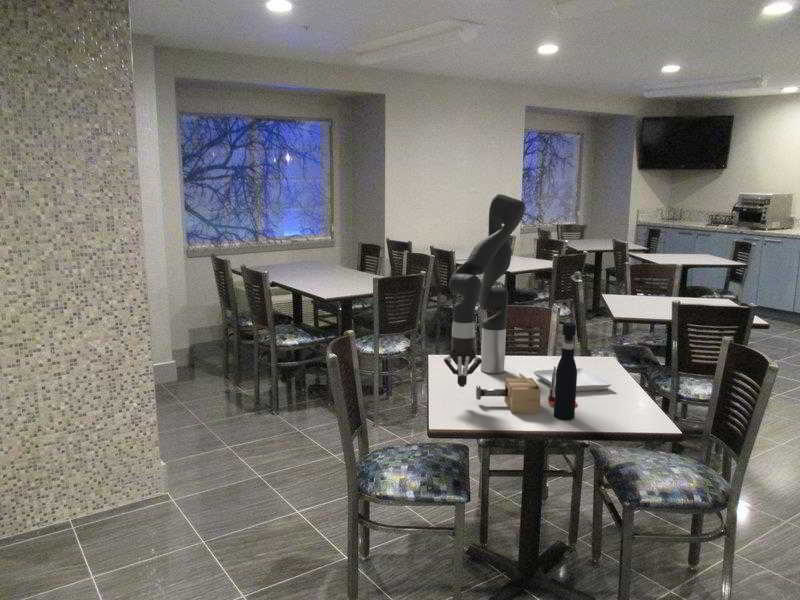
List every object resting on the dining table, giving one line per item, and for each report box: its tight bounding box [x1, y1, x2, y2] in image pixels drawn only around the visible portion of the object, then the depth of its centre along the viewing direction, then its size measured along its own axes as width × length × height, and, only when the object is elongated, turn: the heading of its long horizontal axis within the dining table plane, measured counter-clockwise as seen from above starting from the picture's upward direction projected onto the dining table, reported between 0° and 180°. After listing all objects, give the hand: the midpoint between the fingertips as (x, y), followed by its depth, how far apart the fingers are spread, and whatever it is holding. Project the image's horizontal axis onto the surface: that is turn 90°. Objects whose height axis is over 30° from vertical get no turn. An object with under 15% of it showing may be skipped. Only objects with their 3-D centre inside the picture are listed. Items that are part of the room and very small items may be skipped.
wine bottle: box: [552, 322, 578, 421], centre depth 199 cm, size 6×6×30 cm
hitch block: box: [503, 377, 542, 414], centre depth 210 cm, size 12×9×9 cm
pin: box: [475, 385, 508, 401], centre depth 212 cm, size 13×5×5 cm, turn 92°
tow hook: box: [547, 366, 578, 408], centre depth 213 cm, size 8×13×9 cm
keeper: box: [518, 372, 535, 387], centre depth 205 cm, size 3×6×1 cm
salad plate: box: [532, 367, 612, 393], centre depth 235 cm, size 21×21×3 cm
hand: (461, 386), depth 211 cm, fingers closed
